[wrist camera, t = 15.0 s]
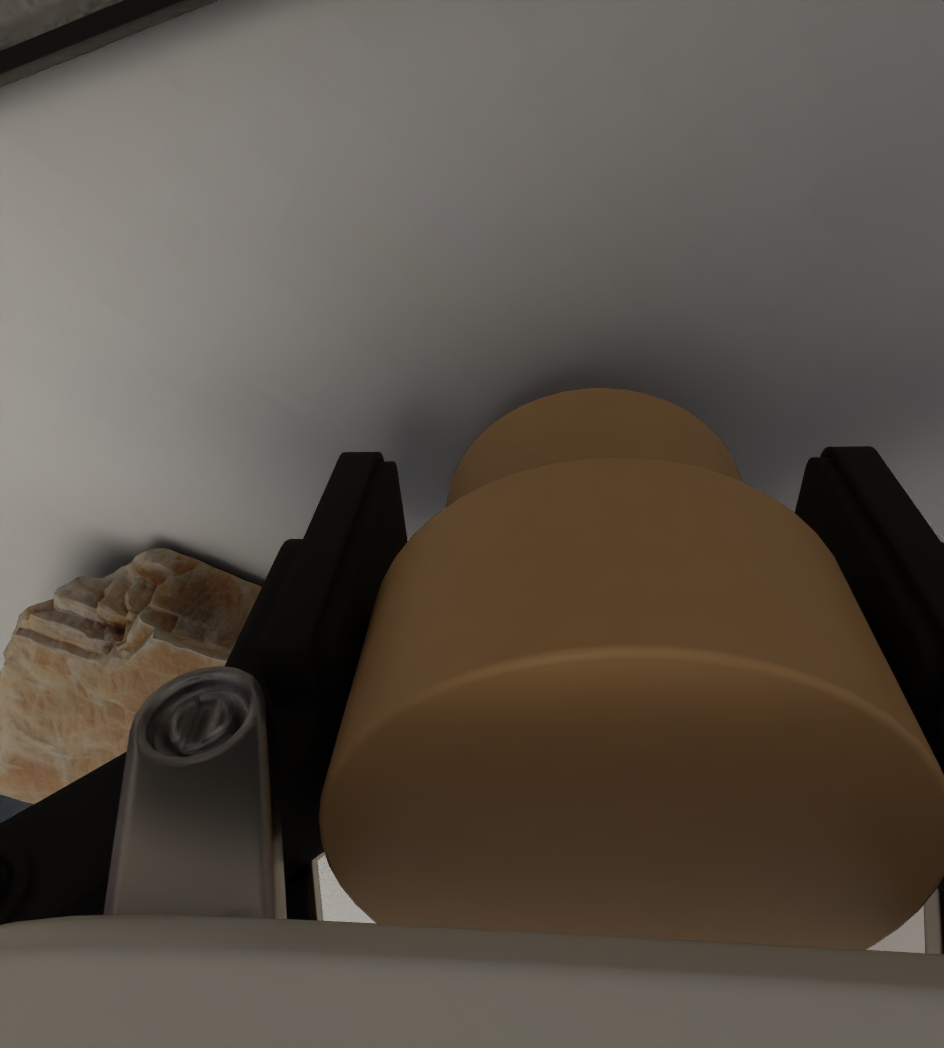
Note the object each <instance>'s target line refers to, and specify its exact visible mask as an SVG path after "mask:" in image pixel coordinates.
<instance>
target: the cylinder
mask: <svg viewBox="0 0 944 1048" xmlns="http://www.w3.org/2000/svg"><path fill="white" fill-rule="evenodd" d="M319 825H320V834H321V842H322V846H323V849H324V852H325V855H326V858H327V861H328V864H329V866H330V868H331V870H332V872H333V873H334V875H335V877H336V879H337V880H338V882H339V884H340V886H341V887H342V888H343V889H344V891H345V892H346V893H347V894H348V895H349V897H350V898H351V899H352V900H353V902H354V903H355V904H356V905H357V906H358V907H359V908H360V909H361V910H362V911H364V912H365V913H366V914H367V915H368V916H369V917H370V918H371V919H372V920H373V921H374V922H376V923H377V924H395V925H415V926H435V927H455V928H475V929H495V930H515V931H534V932H553V933H571V934H590V935H608V936H626V937H645V938H663V939H681V940H699V941H717V942H735V943H753V944H771V945H789V946H807V947H825V948H842V949H858V950H866V949H868V948H869V947H871V946H873V945H875V944H876V943H878V942H879V941H881V940H882V939H884V938H885V937H886V936H888V935H890V934H891V933H893V932H894V931H896V930H897V929H898V928H899V927H901V926H902V925H903V924H904V923H905V922H906V921H907V920H909V919H910V918H911V917H912V916H913V915H914V914H915V913H917V912H918V911H919V910H920V909H921V907H922V906H923V905H924V904H925V903H926V901H927V900H928V899H929V898H930V897H931V895H932V894H933V893H934V892H935V891H936V889H937V887H938V885H939V884H940V882H941V880H942V878H943V876H944V774H943V772H942V770H941V768H940V766H939V764H938V762H937V760H936V758H935V756H934V754H933V752H932V750H931V748H930V746H929V744H928V742H927V740H926V738H925V736H924V734H923V732H922V730H921V728H920V726H919V724H918V722H917V720H916V718H915V716H914V714H913V712H912V710H911V708H910V706H909V704H908V702H907V700H906V698H905V696H904V694H903V692H902V690H901V688H900V686H899V684H898V682H897V680H896V678H895V676H894V674H893V672H892V671H891V669H890V667H889V665H888V663H887V661H886V659H885V657H884V655H883V653H882V651H881V649H880V647H879V645H878V643H877V641H876V639H875V637H874V635H873V633H872V631H871V629H870V627H869V625H868V623H867V621H866V619H865V617H864V615H863V613H862V611H861V609H860V607H859V605H858V603H857V601H856V599H855V597H854V595H853V593H852V591H851V589H850V587H849V585H848V583H847V581H846V579H845V577H844V575H843V573H842V571H841V569H840V567H839V565H838V563H837V561H836V559H835V557H834V555H833V554H832V553H831V552H830V550H829V549H828V548H827V546H826V545H825V544H824V542H823V541H822V540H821V538H820V537H819V536H818V534H817V533H816V532H815V531H814V530H813V529H811V528H810V527H809V526H808V525H807V524H806V523H805V522H804V521H803V520H802V519H801V518H800V517H799V516H798V515H797V514H795V513H794V512H793V511H791V510H790V509H788V508H787V507H785V506H784V505H782V504H781V503H779V502H778V501H777V500H775V499H774V498H772V497H771V496H769V495H767V494H765V493H763V492H761V491H759V490H757V489H755V488H753V487H751V486H749V485H747V484H745V483H743V481H742V479H741V476H740V474H739V471H738V469H737V466H736V464H735V462H734V460H733V458H732V456H731V455H730V453H729V451H728V449H727V448H726V446H725V445H724V444H723V443H722V441H721V440H720V439H719V437H718V436H717V435H716V434H715V433H714V432H713V431H712V430H711V429H710V428H709V427H708V426H707V425H706V424H704V423H703V422H702V421H701V420H699V419H698V418H697V417H695V416H694V415H692V414H691V413H689V412H688V411H686V410H685V409H683V408H681V407H679V406H677V405H675V404H673V403H671V402H669V401H666V400H663V399H660V398H657V397H655V396H652V395H649V394H645V393H640V392H635V391H631V390H625V389H614V388H583V389H577V390H570V391H564V392H559V393H556V394H552V395H549V396H545V397H542V398H539V399H537V400H534V401H532V402H529V403H527V404H524V405H522V406H520V407H519V408H517V409H515V410H513V411H512V412H510V413H508V414H506V415H504V416H503V417H502V418H500V419H499V420H498V421H496V422H495V423H494V424H492V425H491V426H490V427H488V428H487V429H486V430H485V431H484V432H483V433H482V434H481V435H480V436H479V437H478V438H477V439H476V440H475V441H474V443H473V444H472V445H471V447H470V448H469V449H468V450H467V452H466V453H465V454H464V456H463V458H462V460H461V461H460V463H459V465H458V467H457V468H456V470H455V473H454V476H453V478H452V481H451V484H450V488H449V492H448V497H447V502H446V507H445V509H444V510H442V511H441V512H439V513H438V514H436V515H435V516H434V517H432V518H431V519H430V520H429V521H428V522H427V523H426V524H425V525H424V526H423V527H422V528H421V529H420V530H418V531H417V532H416V533H415V534H414V535H413V536H412V537H411V538H410V539H409V541H408V542H407V543H406V545H405V546H404V547H403V548H402V550H401V551H400V552H399V553H398V555H397V556H396V557H395V559H394V560H393V562H392V564H391V566H390V568H389V569H388V571H387V573H386V575H385V577H384V579H383V580H382V583H381V586H380V589H379V592H378V595H377V598H376V601H375V604H374V607H373V611H372V614H371V618H370V622H369V625H368V629H367V632H366V636H365V640H364V643H363V647H362V650H361V654H360V657H359V661H358V665H357V668H356V672H355V675H354V679H353V682H352V686H351V690H350V693H349V697H348V700H347V704H346V707H345V711H344V715H343V718H342V722H341V725H340V729H339V732H338V736H337V740H336V743H335V747H334V750H333V754H332V757H331V761H330V765H329V768H328V772H327V775H326V779H325V782H324V786H323V790H322V793H321V800H320V809H319Z"/></svg>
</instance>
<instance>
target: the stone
mask: <svg viewBox="0 0 944 1048" xmlns="http://www.w3.org/2000/svg"><path fill="white" fill-rule="evenodd" d="M261 588H262V587H261V586H259V585H256V584H254V583H251V582H247V581H245V580H242V579H240V578H238V577H236V576H234V575H231V574H229V573H227V572H224V571H222V570H219V569H217V568H214V567H212V566H210V565H208V564H206V563H204V562H201V561H199V560H197V559H194V558H191V557H188V556H185V555H182V554H179V553H177V552H175V551H172V550H170V549H163V548H158V549H149V550H147V551H145V552H142V553H140V554H138V555H137V556H135V557H134V559H133V561H132V562H130V563H129V564H128V565H126V566H121V567H120V568H119V569H118V570H117V571H115V572H114V573H112V574H110V575H108V576H106V577H104V578H94V577H78V578H76V579H74V580H73V581H71V582H69V583H68V584H66V585H63V586H61V587H59V588H58V589H57V590H56V592H55V593H54V599H52V600H49V601H46V602H43V603H40V604H36V605H33V606H30V607H28V608H27V609H26V610H25V611H24V612H22V613H21V614H20V615H19V618H18V621H17V625H16V629H15V630H14V632H13V634H12V637H11V640H10V642H9V644H8V645H7V647H6V649H5V651H4V653H3V654H4V657H5V664H4V667H3V669H2V671H1V673H0V794H1V795H4V796H7V797H10V798H13V799H17V800H20V801H24V802H28V803H31V804H35V803H37V802H39V801H41V800H42V799H44V798H46V797H48V796H49V795H51V794H53V793H55V792H56V791H58V790H60V789H62V788H63V787H65V786H67V785H69V784H70V783H72V782H74V781H76V780H77V779H79V778H81V777H83V776H85V775H86V774H88V773H90V772H92V771H93V770H95V769H97V768H99V767H100V766H102V765H104V764H106V763H107V762H109V761H111V760H113V759H114V758H116V757H118V756H120V755H121V754H123V753H125V752H127V746H128V739H129V732H130V728H131V725H132V722H133V719H134V716H135V714H136V712H137V711H138V710H139V708H140V707H141V705H142V704H143V703H144V701H145V700H146V699H147V698H148V697H149V696H150V695H151V694H152V693H154V692H155V691H156V690H157V689H158V688H159V687H160V686H162V685H163V684H165V683H167V682H168V681H170V680H172V679H174V678H176V677H177V676H179V675H181V674H184V673H187V672H190V671H193V670H196V669H199V668H206V667H214V666H225V664H226V662H227V660H228V658H229V655H230V653H231V651H232V649H233V647H234V645H235V643H236V641H237V639H238V637H239V634H240V632H241V630H242V628H243V626H244V624H245V622H246V620H247V618H248V615H249V613H250V611H251V609H252V607H253V605H254V603H255V601H256V599H257V597H258V594H259V592H260V590H261ZM324 855H325V852H323V853H322V854H320V855H319V856H318V857H317V860H318V859H320V858H321V857H323V856H324Z"/></svg>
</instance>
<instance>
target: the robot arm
mask: <svg viewBox="0 0 944 1048" xmlns="http://www.w3.org/2000/svg"><path fill="white" fill-rule="evenodd" d="M795 514H797V515H798V516H799V517H800V518H801V519H802V520H803V521H804V522H805V523H806V524H807V525H808V526H809V527H810V528H811V529H813V530H814V531H815V532H816V533H817V534H818V536H819V537H820V538H821V540H822V541H823V542H824V544H825V545H826V546H827V548H828V549H829V550H830V552H831V553H832V554H833V555H834V557H835V559H836V561H837V563H838V565H839V567H840V569H841V571H842V573H843V575H844V577H845V579H846V581H847V583H848V585H849V587H850V589H851V591H852V593H853V595H854V597H855V599H856V601H857V603H858V605H859V607H860V609H861V611H862V613H863V615H864V617H865V619H866V621H867V623H868V625H869V627H870V629H871V631H872V633H873V635H874V637H875V639H876V641H877V643H878V645H879V647H880V649H881V651H882V653H883V655H884V657H885V659H886V661H887V663H888V665H889V667H890V669H891V671H892V672H893V674H894V676H895V678H896V680H897V682H898V684H899V686H900V688H901V690H902V692H903V694H904V696H905V698H906V700H907V702H908V704H909V706H910V708H911V710H912V712H913V714H914V716H915V718H916V720H917V722H918V724H919V726H920V728H921V730H922V732H923V734H924V736H925V738H926V740H927V742H928V744H929V746H930V748H931V750H932V752H933V754H934V756H935V758H936V760H937V762H938V764H939V766H940V768H941V770H942V772H943V774H944V543H943V542H941V541H940V540H939V538H938V537H937V536H936V534H935V533H934V531H933V530H932V529H931V527H930V526H929V524H928V523H927V522H926V520H925V519H924V517H923V516H922V514H921V513H920V512H919V510H918V509H917V507H916V506H915V505H914V503H913V502H912V500H911V499H910V497H909V496H908V495H907V493H906V492H905V490H904V489H903V488H902V486H901V485H900V483H899V482H898V481H897V479H896V478H895V476H894V475H893V473H892V472H891V471H890V469H889V468H888V466H887V465H886V464H885V462H884V461H883V459H882V458H881V456H880V455H879V454H878V452H877V451H876V450H875V449H874V448H873V447H869V446H861V447H827V448H825V449H824V450H823V452H822V454H821V456H820V457H812V458H810V459H809V460H808V462H807V465H806V468H805V472H804V476H803V480H802V484H801V489H800V493H799V497H798V501H797V505H796V510H795ZM406 543H407V535H406V527H405V520H404V513H403V506H402V499H401V491H400V484H399V477H398V470H397V466H396V463H395V462H394V461H388V462H384V458H383V456H382V454H381V452H343V453H341V455H340V456H339V459H338V461H337V463H336V466H335V468H334V470H333V472H332V475H331V477H330V479H329V481H328V484H327V486H326V488H325V490H324V493H323V495H322V497H321V499H320V502H319V504H318V506H317V509H316V511H315V513H314V515H313V518H312V520H311V522H310V524H309V527H308V529H307V531H306V533H305V536H304V538H303V539H289V540H287V541H285V542H284V544H283V545H282V547H281V548H280V550H279V552H278V554H277V556H276V559H275V561H274V563H273V565H272V567H271V569H270V571H269V573H268V575H267V578H266V580H265V582H264V584H263V586H262V588H261V590H260V592H259V594H258V597H257V599H256V601H255V603H254V605H253V607H252V609H251V611H250V613H249V615H248V618H247V620H246V622H245V624H244V626H243V628H242V630H241V632H240V634H239V637H238V639H237V641H236V643H235V645H234V647H233V649H232V651H231V653H230V655H229V658H228V660H227V662H226V664H225V666H214V667H206V668H199V669H196V670H193V671H190V672H187V673H184V674H181V675H179V676H177V677H176V678H174V679H172V680H170V681H168V682H167V683H165V684H163V685H162V686H160V687H159V688H158V689H157V690H156V691H155V692H154V693H152V694H151V695H150V696H149V697H148V698H147V699H146V700H145V701H144V703H143V704H142V705H141V707H140V708H139V710H138V711H137V712H136V714H135V716H134V719H133V722H132V725H131V728H130V732H129V739H128V746H127V752H125V753H123V754H121V755H120V756H118V757H116V758H114V759H113V760H111V761H109V762H107V763H106V764H104V765H102V766H100V767H99V768H97V769H95V770H93V771H92V772H90V773H88V774H86V775H85V776H83V777H81V778H79V779H77V780H76V781H74V782H72V783H70V784H69V785H67V786H65V787H63V788H62V789H60V790H58V791H56V792H55V793H53V794H51V795H49V796H48V797H46V798H44V799H42V800H41V801H39V802H37V803H35V804H34V805H32V806H30V807H28V808H27V809H25V810H23V811H21V812H20V813H18V814H16V815H14V816H13V817H11V818H9V819H7V820H6V821H4V822H2V823H0V1048H944V876H943V878H942V880H941V882H940V884H939V885H938V887H937V889H936V891H935V892H934V893H933V894H932V895H931V897H930V898H929V899H928V900H927V901H926V903H925V904H924V928H925V929H924V930H925V954H924V953H908V952H891V951H875V950H858V949H842V948H825V947H807V946H789V945H771V944H753V943H735V942H717V941H699V940H681V939H663V938H645V937H626V936H608V935H590V934H571V933H553V932H534V931H515V930H495V929H475V928H455V927H435V926H415V925H395V924H375V923H355V922H335V921H323V911H322V901H321V891H320V881H319V871H318V861H317V857H318V856H319V855H320V854H322V853H323V852H324V849H323V846H322V842H321V834H320V825H319V809H320V800H321V793H322V790H323V786H324V782H325V779H326V775H327V772H328V768H329V765H330V761H331V757H332V754H333V750H334V747H335V743H336V740H337V736H338V732H339V729H340V725H341V722H342V718H343V715H344V711H345V707H346V704H347V700H348V697H349V693H350V690H351V686H352V682H353V679H354V675H355V672H356V668H357V665H358V661H359V657H360V654H361V650H362V647H363V643H364V640H365V636H366V632H367V629H368V625H369V622H370V618H371V614H372V611H373V607H374V604H375V601H376V598H377V595H378V592H379V589H380V586H381V583H382V580H383V579H384V577H385V575H386V573H387V571H388V569H389V568H390V566H391V564H392V562H393V560H394V559H395V557H396V556H397V555H398V553H399V552H400V551H401V550H402V548H403V547H404V546H405V545H406Z"/></svg>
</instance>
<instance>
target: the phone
mask: <svg viewBox="0 0 944 1048" xmlns="http://www.w3.org/2000/svg"><path fill="white" fill-rule="evenodd" d="M214 1H217V0H0V87H1V86H4V85H6V84H9V83H11V82H14V81H16V80H19V79H21V78H24V77H26V76H29V75H31V74H34V73H36V72H39V71H41V70H44V69H46V68H49V67H51V66H54V65H56V64H59V63H61V62H64V61H66V60H69V59H71V58H74V57H76V56H79V55H81V54H84V53H86V52H89V51H91V50H94V49H96V48H99V47H101V46H104V45H106V44H109V43H111V42H114V41H116V40H119V39H121V38H124V37H127V36H129V35H132V34H134V33H137V32H139V31H142V30H144V29H147V28H149V27H152V26H154V25H157V24H159V23H162V22H164V21H167V20H169V19H172V18H174V17H177V16H179V15H182V14H184V13H187V12H189V11H192V10H194V9H197V8H199V7H202V6H204V5H207V4H209V3H212V2H214Z"/></svg>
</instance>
